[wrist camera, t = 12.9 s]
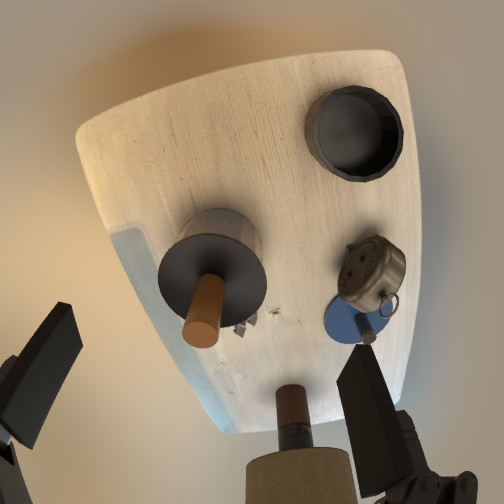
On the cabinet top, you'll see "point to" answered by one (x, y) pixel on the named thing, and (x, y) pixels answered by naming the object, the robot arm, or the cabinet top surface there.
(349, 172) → the pan
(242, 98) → the cabinet top surface
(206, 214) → the pot
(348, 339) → the pot lid
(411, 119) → the cabinet top surface
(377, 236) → the alarm clock
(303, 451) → the lamp
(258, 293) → the lid
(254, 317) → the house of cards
